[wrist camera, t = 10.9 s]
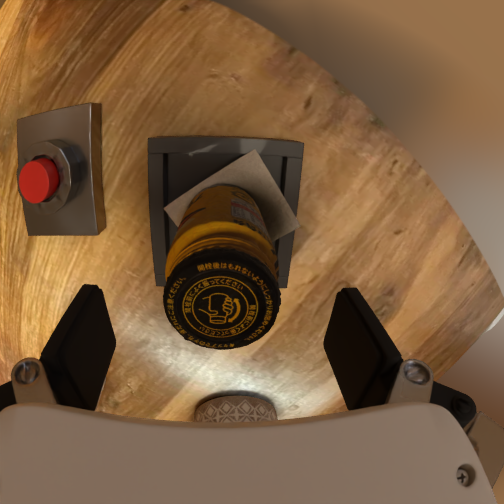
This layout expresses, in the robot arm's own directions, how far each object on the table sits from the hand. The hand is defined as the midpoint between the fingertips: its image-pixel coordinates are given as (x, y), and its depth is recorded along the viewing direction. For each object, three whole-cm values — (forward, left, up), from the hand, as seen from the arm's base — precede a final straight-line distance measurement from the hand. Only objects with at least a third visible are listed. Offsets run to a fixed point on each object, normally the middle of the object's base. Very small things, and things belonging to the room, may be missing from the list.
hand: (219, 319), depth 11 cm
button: (-4, -16, -13) cm, 21 cm away
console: (-4, -16, -16) cm, 23 cm away
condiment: (0, +1, -13) cm, 13 cm away
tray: (0, 0, -16) cm, 16 cm away
